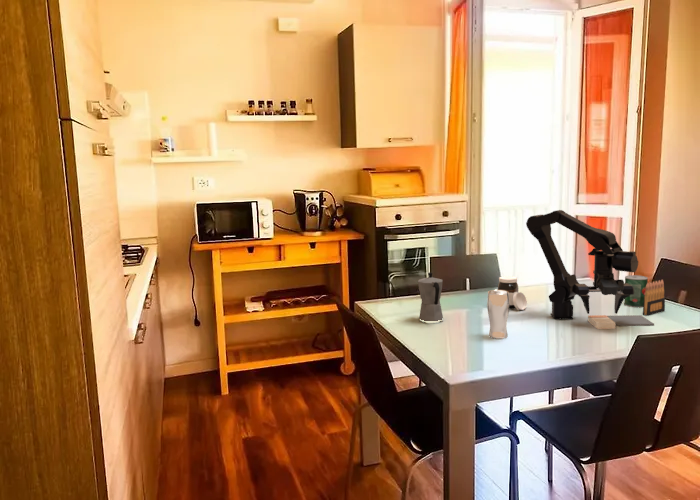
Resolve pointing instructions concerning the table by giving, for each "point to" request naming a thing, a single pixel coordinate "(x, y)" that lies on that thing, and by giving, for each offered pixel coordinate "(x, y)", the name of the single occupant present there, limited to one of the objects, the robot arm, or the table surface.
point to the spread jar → (512, 292)
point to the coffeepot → (430, 298)
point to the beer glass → (498, 313)
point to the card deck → (601, 321)
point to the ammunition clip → (654, 298)
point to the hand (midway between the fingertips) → (602, 313)
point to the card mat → (631, 320)
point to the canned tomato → (636, 290)
